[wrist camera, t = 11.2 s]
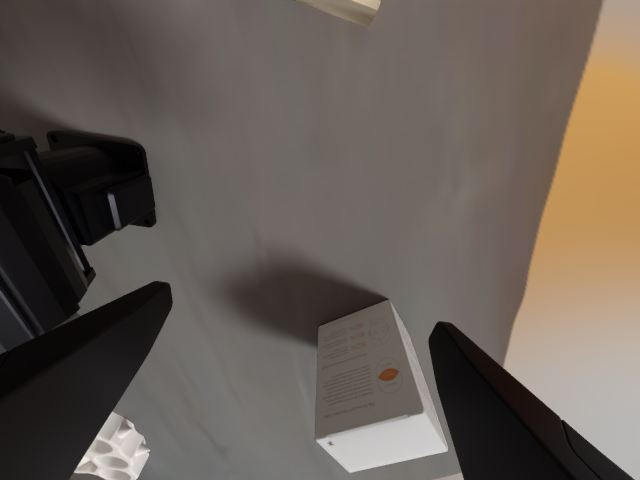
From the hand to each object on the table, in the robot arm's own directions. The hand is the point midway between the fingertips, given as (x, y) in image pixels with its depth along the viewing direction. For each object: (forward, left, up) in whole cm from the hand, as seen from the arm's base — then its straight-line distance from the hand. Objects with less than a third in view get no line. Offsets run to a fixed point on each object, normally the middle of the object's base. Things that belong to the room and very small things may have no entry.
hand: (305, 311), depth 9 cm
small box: (+7, -14, -13) cm, 21 cm away
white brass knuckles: (-26, -42, -14) cm, 51 cm away
